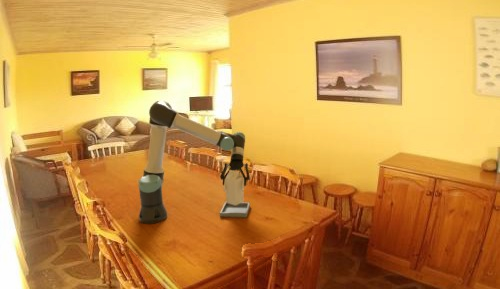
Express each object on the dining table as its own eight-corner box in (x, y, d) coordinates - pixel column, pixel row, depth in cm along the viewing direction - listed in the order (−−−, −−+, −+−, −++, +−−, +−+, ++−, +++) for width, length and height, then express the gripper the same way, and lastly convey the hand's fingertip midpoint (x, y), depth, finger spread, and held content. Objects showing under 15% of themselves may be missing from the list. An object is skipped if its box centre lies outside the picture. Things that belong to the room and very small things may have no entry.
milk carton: (234, 198, 179) (233, 168, 174) (243, 201, 174) (242, 170, 170) (226, 202, 173) (225, 171, 169) (235, 205, 169) (234, 173, 165)
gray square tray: (220, 217, 169) (219, 212, 168) (225, 205, 183) (225, 201, 183) (246, 217, 167) (246, 213, 166) (249, 206, 181) (249, 202, 181)
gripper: (256, 159, 182) (254, 193, 171) (220, 159, 185) (215, 192, 173) (255, 153, 176) (252, 188, 164) (217, 152, 179) (212, 187, 167)
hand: (233, 190), depth 169 cm, fingers closed on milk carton, 10 cm apart
